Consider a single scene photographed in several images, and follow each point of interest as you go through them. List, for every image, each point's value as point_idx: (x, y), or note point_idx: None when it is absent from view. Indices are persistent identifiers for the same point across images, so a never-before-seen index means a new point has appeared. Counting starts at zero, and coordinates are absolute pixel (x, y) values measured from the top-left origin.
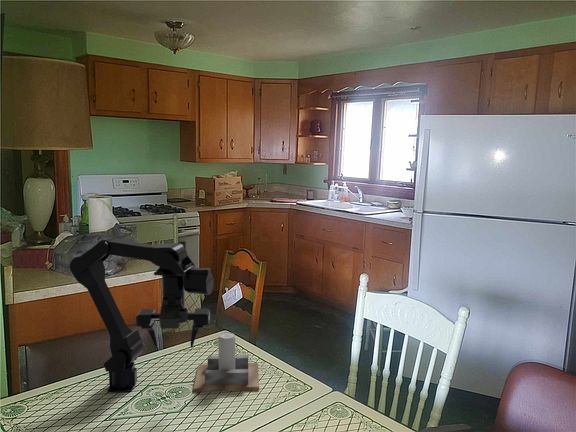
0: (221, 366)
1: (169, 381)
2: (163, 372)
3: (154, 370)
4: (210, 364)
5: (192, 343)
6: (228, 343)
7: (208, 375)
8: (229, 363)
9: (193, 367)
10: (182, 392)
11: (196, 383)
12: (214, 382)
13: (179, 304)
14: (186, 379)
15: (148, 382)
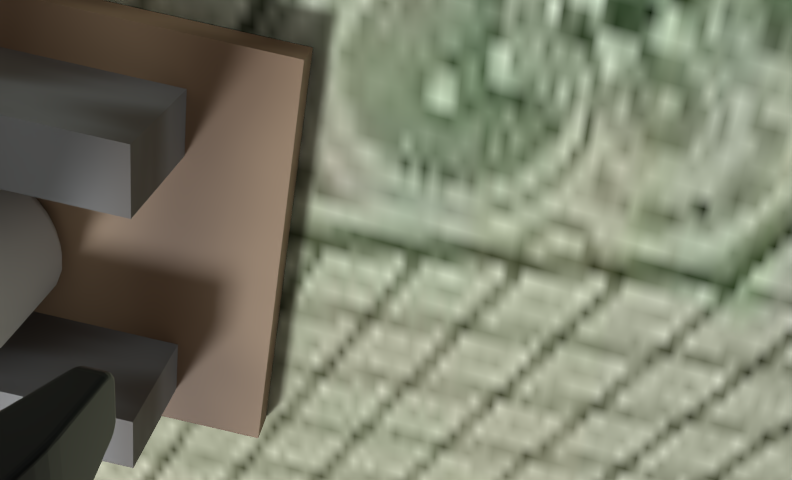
0: None
1: (526, 290)
2: (557, 432)
3: (625, 477)
4: (131, 373)
5: (7, 426)
6: None
7: (100, 123)
8: None
9: (307, 431)
10: (424, 66)
11: (273, 148)
12: (76, 77)
13: None
14: (372, 280)
15: (716, 326)
